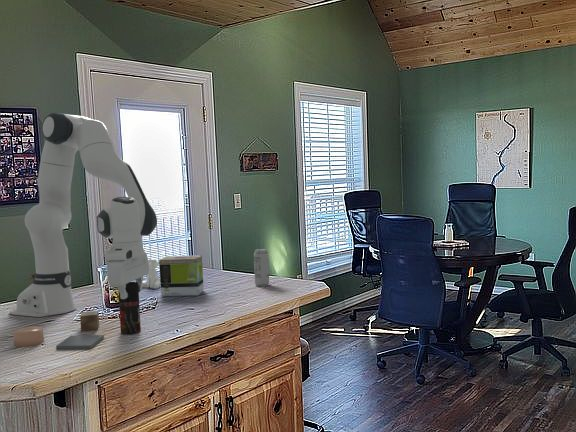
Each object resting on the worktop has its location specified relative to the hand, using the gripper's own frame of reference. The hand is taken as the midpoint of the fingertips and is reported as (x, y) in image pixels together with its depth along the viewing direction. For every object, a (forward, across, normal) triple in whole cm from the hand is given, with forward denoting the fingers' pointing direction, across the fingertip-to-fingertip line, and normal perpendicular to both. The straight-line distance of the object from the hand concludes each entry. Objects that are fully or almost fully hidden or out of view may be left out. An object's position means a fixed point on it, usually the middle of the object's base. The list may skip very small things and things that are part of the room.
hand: (131, 295), depth 178 cm
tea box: (+12, -52, -5) cm, 54 cm away
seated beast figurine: (+12, -65, -24) cm, 70 cm away
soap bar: (+7, +14, -26) cm, 31 cm away
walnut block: (+11, -2, -16) cm, 20 cm away
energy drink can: (+13, -70, +23) cm, 75 cm away
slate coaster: (+11, +13, -10) cm, 20 cm away
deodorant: (+12, 0, -1) cm, 12 cm away
